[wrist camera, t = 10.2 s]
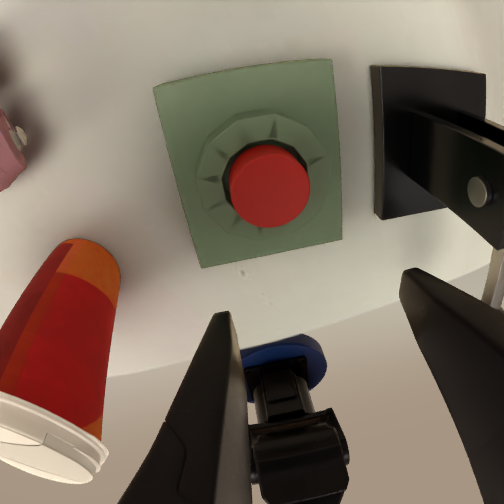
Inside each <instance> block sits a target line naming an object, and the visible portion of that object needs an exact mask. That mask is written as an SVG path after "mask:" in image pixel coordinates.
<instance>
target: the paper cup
mask: <svg viewBox="0 0 504 504" xmlns="http://www.w3.org/2000/svg"><path fill="white" fill-rule="evenodd" d="M119 289H120V270H119V267H118V265H117V263H116V261H115V259H114V258H113V257H112V255H111V254H110V253H109V252H108V251H107V250H106V249H104V248H103V247H101V246H100V245H98V244H96V243H94V242H92V241H89V240H84V239H71V240H67V241H65V242H63V243H61V244H60V245H58V246H57V247H56V248H55V249H54V251H53V252H52V253H51V254H50V255H49V257H48V258H47V259H46V261H45V262H44V263H43V265H42V266H41V267H40V269H39V270H38V272H37V273H36V274H35V276H34V277H33V279H32V280H31V282H30V283H29V284H28V286H27V287H26V289H25V290H24V292H23V294H22V295H21V297H20V298H19V300H18V301H17V303H16V304H15V306H14V308H13V309H12V311H11V312H10V314H9V316H8V317H7V319H6V321H5V322H4V324H3V326H2V327H1V329H0V460H2V461H4V462H6V463H8V464H10V465H12V466H14V467H16V468H18V469H21V470H23V471H25V472H28V473H31V474H33V475H36V476H39V477H43V478H46V479H50V480H54V481H58V482H64V483H72V484H84V483H87V482H90V481H92V479H93V476H94V474H95V472H99V471H100V469H101V465H102V464H103V463H104V462H105V461H106V458H107V456H108V455H109V451H108V449H107V448H106V446H105V445H104V444H103V443H102V442H101V434H102V418H103V405H104V396H105V385H106V377H107V369H108V361H109V353H110V346H111V339H112V332H113V326H114V319H115V313H116V307H117V301H118V295H119Z"/></svg>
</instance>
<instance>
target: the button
mask: <svg viewBox="0 0 504 504" xmlns="http://www.w3.org/2000/svg"><path fill="white" fill-rule="evenodd" d="M228 183H229V189H230V195H231V200H232V204H233V206H234V209H235V210H236V212H237V213H238V215H239V216H240V217H241V218H242V219H244V220H245V221H246V222H248V223H250V224H252V225H255V226H258V227H264V228H273V227H278V226H282V225H284V224H287V223H289V222H290V221H292V220H293V219H295V218H296V217H297V216H298V215H299V214H300V213H301V212H302V211H303V209H304V208H305V206H306V204H307V202H308V199H309V195H310V180H309V177H308V175H307V172H306V171H305V169H304V168H303V166H302V165H301V164H300V163H299V162H298V161H297V159H296V158H295V157H294V156H293V155H292V154H291V153H290V152H289V151H287V150H286V149H284V148H282V147H279V146H276V145H269V144H265V145H258V146H254V147H252V148H250V149H248V150H246V151H244V152H243V153H242V154H241V155H240V156H238V158H237V159H236V160H235V161H234V163H233V165H232V167H231V169H230V172H229V179H228Z"/></svg>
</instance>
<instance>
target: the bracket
mask: <svg viewBox="0 0 504 504" xmlns="http://www.w3.org/2000/svg"><path fill="white" fill-rule="evenodd" d="M370 68H371V79H372V93H373V110H374V135H375V203H374V213H375V214H376V215H377V216H378V217H379V218H380V219H381V220H386V219H391V218H396V217H401V216H407V215H412V214H417V213H422V212H427V211H432V210H437V209H442V208H447V207H448V208H449V209H450V210H452V211H453V212H454V213H455V214H456V215H458V216H459V217H460V218H461V219H462V220H463V221H465V222H466V223H467V224H468V225H469V226H470V227H472V228H473V229H474V230H475V231H476V232H477V233H478V234H480V235H481V236H482V237H483V238H484V239H485V240H486V241H487V242H488V243H489V244H491V245H492V246H493V247H494V248H495V249H496V250H497V251H499V250H502V249H504V126H502V125H500V124H497V123H495V122H492V121H490V120H488V119H485V113H486V75H485V74H483V73H478V72H473V71H465V70H456V69H447V68H435V67H421V66H398V65H371V66H370Z"/></svg>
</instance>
